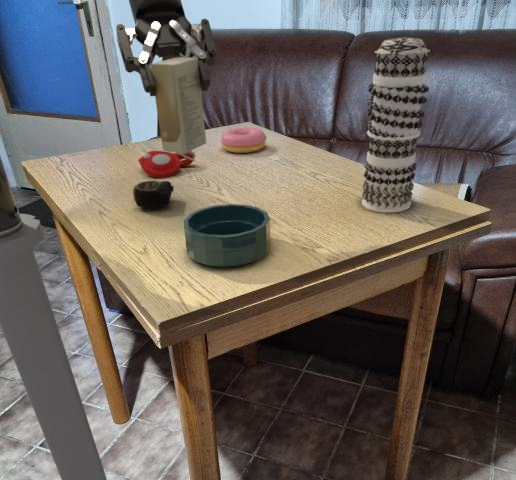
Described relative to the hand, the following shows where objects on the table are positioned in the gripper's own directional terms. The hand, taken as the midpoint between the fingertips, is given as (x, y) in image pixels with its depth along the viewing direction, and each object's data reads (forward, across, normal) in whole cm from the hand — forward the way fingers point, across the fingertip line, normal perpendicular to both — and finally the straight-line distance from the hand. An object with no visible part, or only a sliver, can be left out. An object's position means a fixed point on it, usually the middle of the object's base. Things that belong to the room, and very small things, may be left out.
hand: (179, 89), depth 75 cm
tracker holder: (-8, +2, +37) cm, 38 cm away
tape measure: (+6, -4, +23) cm, 24 cm away
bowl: (+23, +2, +5) cm, 24 cm away
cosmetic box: (+5, 0, +7) cm, 9 cm away
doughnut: (-14, +23, +44) cm, 51 cm away
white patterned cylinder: (+19, +33, +10) cm, 39 cm away
